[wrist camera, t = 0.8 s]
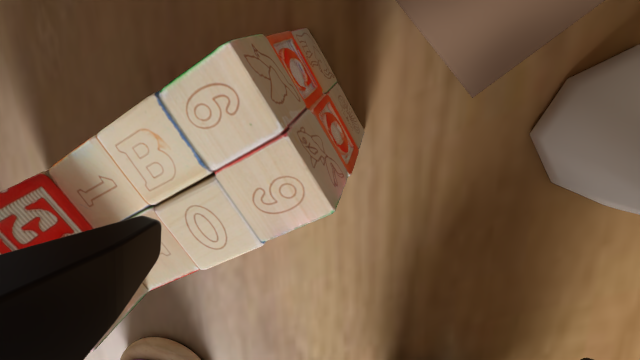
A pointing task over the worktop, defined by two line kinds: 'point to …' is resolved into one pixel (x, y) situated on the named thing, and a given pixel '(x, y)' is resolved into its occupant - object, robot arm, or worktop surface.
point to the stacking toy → (158, 350)
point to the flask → (596, 133)
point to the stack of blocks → (205, 161)
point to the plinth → (491, 32)
